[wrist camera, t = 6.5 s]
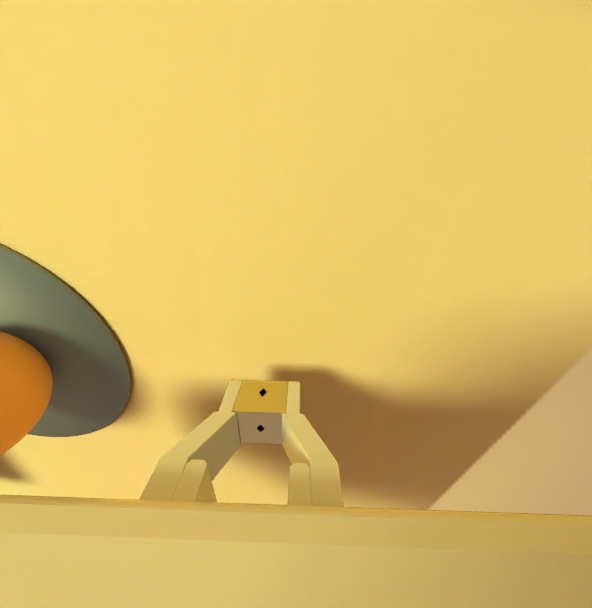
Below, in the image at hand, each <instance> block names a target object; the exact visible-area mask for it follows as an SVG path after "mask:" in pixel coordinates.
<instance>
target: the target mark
mask: <svg viewBox="0 0 592 608" xmlns="http://www.w3.org/2000/svg"><path fill="white" fill-rule="evenodd" d="M0 332H4V333H8V334H10V335H13V336H15V337H17V338H20V339H22V340H24V341H25V342H27V343H29V344H30V345H32V346H33V347H34V348H35V349H37V350H38V351H39V352H40V353H41V354H42V356H43V357H44V358H45V359H46V361H47V363H48V365H49V367H50V370H51V373H52V379H53V387H52V393H51V397H50V401H49V403H48V406H47V408H46V410H45V411H44V413H43V415H42V416H41V418H40V419H39V421H38V422H37V423H36V425H35V426H34V427H33V428H32V429H31V430H30V431H29V432H28V434H31V435H38V436H49V437H69V436H79V435H83V434H88V433H91V432H94V431H97V430H100V429H102V428H104V427H105V426H107V425H109V424H110V423H111V422H113V421H114V420H115V419H116V418H117V417H118V416H119V415H120V413H121V412H122V411H123V410H124V408H125V406H126V404H127V402H128V400H129V396H130V392H131V377H130V370H129V366H128V363H127V360H126V357H125V355H124V353H123V351H122V348H121V346H120V344H119V342H118V341H117V339H116V338H115V336H114V335H113V333H112V331H111V330H110V328H109V327H108V326H107V325H106V323H105V322H104V321H103V320H102V318H101V317H100V316H99V315H98V314H97V313H96V311H95V310H94V309H93V308H92V307H91V306H90V305H89V304H88V303H87V302H86V301H85V300H84V299H83V298H82V297H81V296H79V295H78V294H77V293H76V292H75V291H74V290H72V289H71V288H70V287H69V286H68V285H67V284H65V283H64V282H63V281H61V280H60V279H59V278H57V277H56V276H54V275H53V274H52V273H50V272H49V271H48V270H46V269H45V268H43V267H41V266H40V265H38V264H36V263H35V262H33V261H32V260H30V259H28V258H27V257H25V256H23V255H21V254H19V253H17V252H15V251H13V250H11V249H9V248H7V247H6V246H4V245H1V244H0Z"/></svg>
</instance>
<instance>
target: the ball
mask: <svg viewBox="0 0 592 608" xmlns="http://www.w3.org/2000/svg"><path fill="white" fill-rule="evenodd" d="M52 387H53V379H52V373H51V370H50V367H49V365H48V363H47V361H46V359H45V358H44V357H43V356H42V354H41V353H40V352H39V351H38V350H37V349H35V348H34V347H33V346H32V345H30V344H29V343H27V342H25V341H24V340H22V339H20V338H17V337H15V336H13V335H10V334H8V333H4V332H0V455H2V454H3V453H5V452H6V451H7V450H9V449H10V448H11V447H13V446H14V445H15V444H16V443H18V442H19V441H20V440H21V439H22V438H23V437H24V436H25V435H26V434H28V432H29V431H30V430H31V429H32V428H33V427H34V426H35V425H36V423H37V422H38V421H39V419H40V418H41V416H42V415H43V413H44V411H45V410H46V408H47V406H48V403H49V401H50V397H51V393H52Z"/></svg>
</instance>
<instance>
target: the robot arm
mask: <svg viewBox="0 0 592 608" xmlns="http://www.w3.org/2000/svg"><path fill="white" fill-rule="evenodd" d="M241 443H268V444H282V446H283V448H284V450H285V452H286V454H287V456H288V458H289V461H290V463H291V466H290V473H289V490H288V505H275V504H247V503H219V502H217V500H216V497H215V493H214V489H213V485H212V480H213V479H214V478H215V476H216V475H217V474H218V473H219V471H220V470H221V469H222V468H223V466H224V465H225V464H226V462H227V461H228V460H229V459H230V457H231V456H232V455H233V454H234V452H235V451H236V450H237V448H238V447H239V446H240V445H241ZM0 608H592V516H583V515H581V516H580V515H555V514H527V513H498V512H470V511H469V512H468V511H442V510H413V509H385V508H357V507H344V503H343V496H342V488H341V480H340V473H339V465H338V462H337V461H336V459H335V458H334V457H333V455H332V454H331V452H330V451H329V450H328V448H327V447H326V445H325V444H324V442H323V441H322V440H321V438H320V437H319V435H318V434H317V432H316V431H315V430H314V428H313V427H312V425H311V424H310V422H309V421H308V420H307V418H306V417H305V415H304V414H300V381H289V382H288V381H257V380H234V379H231V381H230V382H229V384H228V387H227V389H226V392H225V395H224V397H223V400H222V403H221V406H220V408H219V411H215V412H213V413H212V414H211V415H210V416H209V417H208V418H206V419H205V420H204V421H203V422H202V423H201V424H199V425H198V426H197V427H196V428H195V429H194V430H192V431H191V432H190V433H189V434H188V435H187V436H185V437H184V438H183V439H182V440H181V441H179V442H178V443H177V444H176V445H175V446H174V447H172V448H171V449H170V450H169V451H168V452H167V453H165V454H164V455H163V456H162V457H161V459H160V460H159V462H158V464H157V466H156V468H155V470H154V472H153V474H152V476H151V478H150V480H149V482H148V484H147V485H146V487H145V489H144V491H143V493H142V495H141V497H140V499H139V500H134V499H106V498H78V497H50V496H22V495H0Z"/></svg>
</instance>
